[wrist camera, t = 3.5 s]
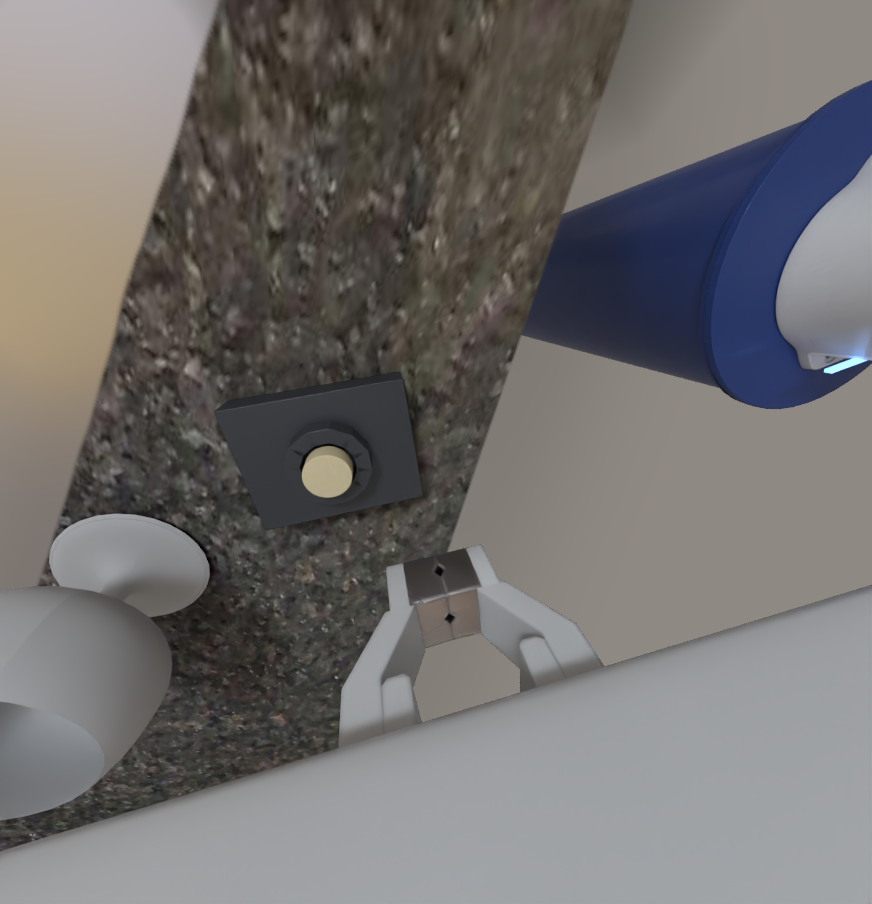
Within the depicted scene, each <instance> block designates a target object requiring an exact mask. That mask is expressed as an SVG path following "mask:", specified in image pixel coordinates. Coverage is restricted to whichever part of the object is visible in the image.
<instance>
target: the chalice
mask: <svg viewBox="0 0 872 904" xmlns="http://www.w3.org/2000/svg"><path fill="white" fill-rule="evenodd" d="M49 563H50V567H51V570H52V574H53V576H54V577H55V579H56V580H57V582H58V583H59V585H60V586H61V587H50V586H34V587H27V588H20V589H11V590H6V591H1V592H0V820H6V819H11V818H17V817H23V816H28V815H31V814H35V813H38V812H42V811H46V810H49V809H52V808H54V807H57V806H59V805H62V804H64V803H66V802H69V801H71V800H73V799H74V798H76V797H77V796H79V795H81V794H82V793H84V792H85V791H87V790H88V789H89V788H91V787H92V786H93V785H94V784H95V783H96V782H97V781H98V780H100V779H101V778H102V777H103V776H104V775H105V774H106V773H107V772H108V771H109V770H110V769H111V768H112V767H113V766H114V765H115V764H116V763H117V762H118V761H119V760H120V759H121V758H122V757H123V756H124V755H125V753H126V752H127V751H128V750H129V749H130V748H131V746H132V745H133V744H134V743H135V742H136V740H137V739H138V738H139V736H140V735H141V733H142V732H143V731H144V729H145V728H146V727H147V725H148V723H149V722H150V720H151V719H152V717H153V716H154V714H155V712H156V711H157V709H158V707H159V705H160V704H161V702H162V700H163V698H164V696H165V694H166V691H167V689H168V687H169V683H170V677H171V671H172V658H171V652H170V648H169V645H168V643H167V641H166V639H165V637H164V635H163V633H162V631H161V629H160V628H159V627H158V626H157V625H156V624H155V623H154V622H153V621H152V620H151V619H150V617H154V616H161V615H166V614H169V613H172V612H176V611H179V610H181V609H183V608H185V607H186V606H188V605H190V604H192V603H193V602H194V601H195V600H196V599H197V598H199V597H200V596H201V594H202V593H203V591H204V590H205V588H206V587H207V584H208V580H209V577H210V573H209V564H208V561H207V559H206V556H205V554H204V552H203V551H202V550H201V548H200V547H199V546H198V544H197V543H196V542H195V541H194V540H192V539H191V538H190V537H189V536H188V535H187V534H185V533H184V532H182V531H180V530H179V529H177V528H175V527H173V526H172V525H170V524H167V523H164V522H162V521H159V520H156V519H154V518H149V517H144V516H139V515H131V514H108V515H99V516H94V517H91V518H87V519H84V520H81V521H79V522H77V523H75V524H73V525H71V526H70V527H68V528H66V529H65V530H64V531H63V532H62V533H61V534H60V535H59V536H58V537H57V538H56V539H55V541H54V543H53V545H52V547H51V549H50V559H49Z"/></svg>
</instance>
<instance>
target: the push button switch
mask: <svg viewBox="0 0 872 904" xmlns="http://www.w3.org/2000/svg"><path fill="white" fill-rule="evenodd" d="M352 477H353V463H352V460H351V458H350V456H349V455H348V454H347V453H346V452H345V451H343V450H342V449H340V448H337V447H333V446H323V447H319V448H317V449H315V450H313V451H312V452H311V453H310V454H309V455H308V457H307V459H306V461H305V464H304V467H303V471H302V481H303V483H304V485H305V487H306V488H307V489H308V490H309V491H310V492H311V493H313V494H314V495H317V496H320V497H325V498H330V497H336V496H338V495H341V494H342V493H344V492H345V491H346V490H347V489H348V488H349V487H350V485H351V482H352Z"/></svg>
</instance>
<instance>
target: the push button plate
mask: <svg viewBox="0 0 872 904" xmlns="http://www.w3.org/2000/svg"><path fill="white" fill-rule="evenodd" d="M214 413H215V416H216V418H217V420H218V423H219V425H220V427H221V429H222V432H223V434H224V436H225V438H226V441H227V443H228V445H229V447H230V450H231V452H232V454H233V457H234V459H235V461H236V463H237V466H238V468H239V470H240V472H241V475H242V477H243V479H244V482H245V484H246V486H247V488H248V491H249V493H250V495H251V497H252V500H253V502H254V504H255V506H256V509H257V511H258V513H259V516H260V518H261V520H262V522H263V525H264V527H265V529H266V530H271V529H275V528H280V527H284V526H289V525H293V524H298V523H303V522H307V521H312V520H316V519H321V518H325V517H330V516H334V515H339V514H343V513H348V512H353V511H357V510H362V509H366V508H371V507H375V506H380V505H384V504H389V503H393V502H398V501H402V500H407V499H412V498H416V497H421V496H423V491H422V485H421V479H420V473H419V468H418V462H417V456H416V450H415V444H414V438H413V433H412V427H411V421H410V415H409V409H408V403H407V398H406V392H405V386H404V380H403V378H402V376H401V374H400V372H394V373H388V374H382V375H377V376H371V377H365V378H359V379H354V380H348V381H342V382H336V383H330V384H325V385H319V386H313V387H307V388H302V389H296V390H290V391H284V392H278V393H273V394H267V395H261V396H255V397H249V398H244V399H238V400H232V401H227V402H225V403H224V404H223V405H222V406H221V407H219V408H218V409H217V410H216V411H214ZM323 446H333V447H337V448H340V449H342V450H343V451H345V452H346V453H347V454H348V455H349V456H350V458H351V460H352V463H353V477H352V482H351V485H350V487H349V488H348V489H347V490H346V491H345V492H344V493H342V494H341V495H338V496H336V497H330V498H325V497H320V496H317V495H314V494H313V493H311V492H310V491H309V490H308V489H307V488H306V487H305V485H304V483H303V481H302V471H303V467H304V464H305V461H306V459H307V457H308V455H309V454H310V453H311V452H312V451H313V450H315V449H317V448H319V447H323Z"/></svg>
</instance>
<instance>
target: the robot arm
mask: <svg viewBox="0 0 872 904" xmlns="http://www.w3.org/2000/svg"><path fill="white" fill-rule="evenodd" d="M776 320H777V325H778V328H779V330H780V332H781V334H782V336H783V337H784V339H785V340H786V341H787V342H789V343H790V344H791V345H792V346H793V347H794V348H795V349H796V351H797V355H798V360H799V363H800V366H801V367H802V368H803V369H813V370H817V369H820V368H823V367H825V366H828V365H830V364H833V363H835V362H838V361H840V360H842V359H845V358H851V359H850V360H848V361H845V362H842V363H840V364H837V365H834V366H832V367H829V368H826V369H824V372H826V373H831V374H832V373H835V372H837V371H840V370H843V369H845V368H848V367H851V366H854V365H856V364H859V363H862V362H864V361H867V360H872V154H871V156H870V157H869V158H868V160H867V161H866V162H865V164H864V165H863V166H862V168H861V169H860V171H859V172H858V174H857V175H856V176H855V178H854V179H853V180H852V181H851V182H850V183H849V184H848V185H847V186H846V187H844V188H843V189H842V190H841V191H840V192H839V193H837V194H836V195H835V196H834V197H833V198H832V199H830V200H829V201H828V202H827V203H826V204H825V205H824V206H823V207H822V208H821V209H820V211H819V212H818V213H817V214H816V215H815V216H814V218H813V219H812V220H811V221H810V223H809V224H808V225H807V227H806V228H805V229H804V231H803V232H802V234H801V235H800V237H799V239H798V240H797V242H796V244H795V246H794V247H793V249H792V251H791V253H790V255H789V257H788V260H787V262H786V264H785V267H784V269H783V272H782V275H781V278H780V282H779V286H778V290H777V296H776ZM403 564H404V565H403ZM386 573H387V583H388V593H389V604H390V611H388V612H385V614H384V615H383V617H382V619H381V621H380V622H379V624H378V626H377V628H376V629H375V631H374V633H373V635H372V637H371V638H370V640H369V642H368V644H367V645H366V647H365V649H364V651H363V652H362V654H361V656H360V658H359V660H358V661H357V663H356V665H355V667H354V668H353V670H352V672H351V674H350V675H349V677H348V679H347V681H346V683H345V684H344V686H343V688H342V692H341V712H340V732H339V748H337V749H334V750H331V751H327V752H324V753H321V754H318V755H314V756H311V757H308V758H305V759H301V760H298V761H295V762H291V763H288V764H285V765H282V766H278V767H275V768H272V769H269V770H265V771H262V772H259V773H255V774H252V775H249V776H246V777H242V778H239V779H236V780H233V781H229V782H226V783H223V784H220V785H216V786H213V787H210V788H206V789H203V790H200V791H197V792H193V793H190V794H187V795H183V796H180V797H177V798H174V799H170V800H167V801H164V802H161V803H157V804H154V805H151V806H147V807H144V808H141V809H138V810H134V811H131V812H128V813H124V814H121V815H118V816H115V817H111V818H108V819H105V820H102V821H98V822H95V823H92V824H88V825H85V826H82V827H79V828H75V829H72V830H69V831H66V832H62V833H59V834H56V835H52V836H49V837H46V838H43V839H39V840H36V841H33V842H30V843H26V844H23V845H20V846H16V847H13V848H10V849H7V850H3V851H0V904H872V585H870V586H867V587H863V588H860V589H857V590H853V591H850V592H847V593H844V594H840V595H837V596H834V597H831V598H828V599H824V600H821V601H818V602H814V603H811V604H808V605H805V606H801V607H798V608H795V609H792V610H788V611H785V612H782V613H778V614H775V615H772V616H769V617H765V618H762V619H759V620H755V621H752V622H749V623H746V624H742V625H739V626H736V627H733V628H729V629H726V630H723V631H720V632H716V633H713V634H710V635H706V636H703V637H700V638H697V639H693V640H691V641H687V642H684V643H680V644H677V645H674V646H671V647H667V648H664V649H661V650H657V651H654V652H651V653H648V654H644V655H641V656H638V657H635V658H631V659H628V660H625V661H621V662H618V663H615V664H612V665H608V666H605V667H604V665H603V664H602V662H601V661H600V659H599V658H598V656H597V654H596V653H595V651H594V650H593V648H592V647H591V645H590V644H589V642H588V641H587V639H586V638H585V636H584V635H583V633H582V632H581V630H580V629H579V627H578V625H577V624H576V623H575V622H573V621H571V620H570V619H568V618H566V617H565V616H563V615H561V614H560V613H558V612H556V611H554V610H553V609H551V608H549V607H548V606H546V605H544V604H543V603H541V602H539V601H537V600H536V599H534V598H533V597H531V596H529V595H528V594H526V593H524V592H523V591H521V590H519V589H517V588H516V587H514V586H512V585H511V584H509V583H507V582H506V581H503V582H500V581H499V579H498V577H497V575H496V573H495V571H494V569H493V567H492V564H491V562H490V560H489V558H488V556H487V554H486V553H485V550H484V548H483V546H482V545H481V544H479V545H474V546H471V547H467V548H465V549H464V548H463V549H460V550H456V551H452V552H448V553H444V554H440V555H436V556H432V557H428V558H423V559H418V560H414V561H409V562H405V563H402V564H397V565H393V566H388V567H387V570H386ZM478 633H482V635H483V636H484V637H485V638H486V639H487V640H489V641H490V642H491V643H492V644H493V645H494V646H495V647H496V648H497V649H498V650H499V651H501V652H502V653H503V654H504V655H505V656H506V657H507V658H508V659H509V660H511V661H512V662H513V663H514V664H515V665H516V666H517V667H518V668H519V669H520V693H517V694H514V695H511V696H508V697H504V698H501V699H498V700H495V701H491V702H488V703H484V704H481V705H478V706H475V707H471V708H468V709H465V710H462V711H458V712H455V713H452V714H448V715H445V716H442V717H439V718H435V719H432V720H429V721H426V722H422V721H421V717H420V713H419V710H418V706H417V702H416V698H415V694H414V691H413V686H414V683H415V680H416V677H417V674H418V671H419V668H420V665H421V662H422V659H423V656H424V653H425V648H428V647H431V646H434V645H438V644H441V643H444V642H448V641H451V640H454V639H458V638H462V637H466V636H470V635H474V634H478Z"/></svg>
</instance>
